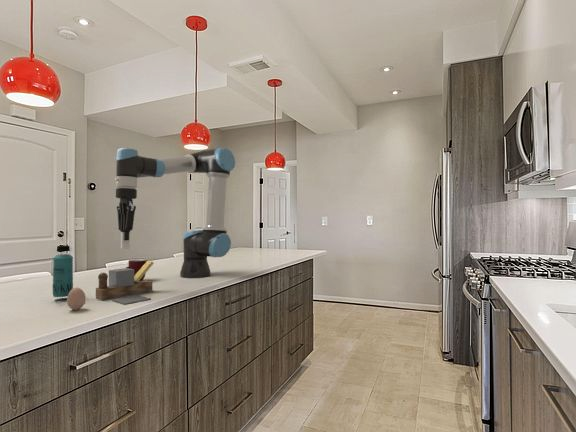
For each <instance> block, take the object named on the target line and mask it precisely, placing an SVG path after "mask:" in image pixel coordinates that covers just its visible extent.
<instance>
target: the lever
mask: <svg viewBox="0 0 576 432" xmlns="http://www.w3.org/2000/svg"><path fill="white" fill-rule="evenodd" d="M153 265H154V262H153V261H151V260H147V262H146V263H145V264H144V265H143V266H142V268H141V269H140V270H139V271H138V272H137V273H136V275H135V276H134V283H136V284H137V283H138V281H139V280H140V279H141V278H142V277H143V275H144V274H145V273H146V274H147V272H148V271H149V270H150V269H151V267H152V266H153ZM146 274H145V275H146Z"/></svg>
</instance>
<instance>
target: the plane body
mask: <svg viewBox="0 0 576 432" xmlns="http://www.w3.org/2000/svg"><path fill="white" fill-rule="evenodd" d="M97 277H98V287H95V300H99V301H106V300H107V301H108V300H115V299H120V298H125V297H131V296H136V295H140V294H142V295H143V294H148V293H152V292H153V281H150V280H143V281H139V282H138V283H137V284H136V283H134V285H130V286H124V287H118V288H116V287H112V286H109V285H108V279H109V274H107V273H106V272H100V273H99V274H98V276H97Z"/></svg>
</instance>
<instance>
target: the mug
mask: <svg viewBox="0 0 576 432" xmlns="http://www.w3.org/2000/svg"><path fill="white" fill-rule="evenodd" d="M147 261H148V259H146V258H138V259H136V258H135V259H129V260H128V266H126V267H125V268H129V269H134V276H135V275H136V273H137V272H138V271H139V270H140V269H141V268H142V266H143V265H144V264H145V263H146V262H147ZM146 274H147V272H146V273H145V274H144V275H143V277H142V278H141V279H140V280H139V281H144V279H145V276H146ZM139 281H138V282H139Z"/></svg>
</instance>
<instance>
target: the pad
mask: <svg viewBox="0 0 576 432" xmlns="http://www.w3.org/2000/svg"><path fill="white" fill-rule="evenodd" d="M146 301H151V298H150V297H146V296H142V295H140V294H136V295H131V296H125V297H120V298H114V299H111V302H114V303H117V304H120V305H124V306H126V305H130V304H136V303H140V302H146Z"/></svg>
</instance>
